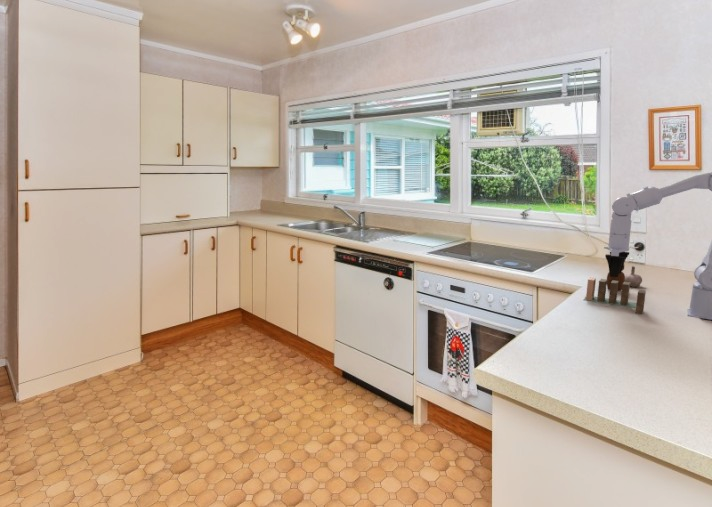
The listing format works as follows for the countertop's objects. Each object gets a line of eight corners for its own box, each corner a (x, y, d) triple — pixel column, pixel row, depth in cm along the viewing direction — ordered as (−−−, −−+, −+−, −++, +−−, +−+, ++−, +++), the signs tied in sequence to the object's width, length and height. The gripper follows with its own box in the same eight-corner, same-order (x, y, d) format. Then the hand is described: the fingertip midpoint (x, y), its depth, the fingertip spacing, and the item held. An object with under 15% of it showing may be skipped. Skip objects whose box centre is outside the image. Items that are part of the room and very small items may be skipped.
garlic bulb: (642, 289, 166) (644, 268, 165) (619, 286, 170) (622, 266, 168) (640, 285, 172) (643, 265, 171) (619, 282, 176) (621, 263, 175)
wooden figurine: (606, 287, 168) (610, 249, 165) (624, 289, 164) (628, 250, 162) (604, 291, 162) (608, 251, 160) (622, 293, 159) (627, 253, 156)
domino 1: (604, 299, 150) (607, 279, 148) (602, 302, 146) (605, 281, 145) (599, 298, 151) (601, 278, 150) (596, 301, 147) (599, 281, 146)
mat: (642, 304, 145) (642, 303, 145) (640, 310, 138) (640, 309, 138) (587, 296, 155) (587, 295, 154) (582, 301, 148) (582, 300, 148)
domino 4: (643, 312, 136) (645, 290, 135) (641, 315, 133) (644, 293, 132) (636, 310, 138) (639, 289, 136) (635, 314, 134) (637, 292, 133)
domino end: (593, 297, 152) (595, 278, 150) (591, 300, 148) (593, 280, 147) (588, 296, 153) (590, 277, 152) (585, 299, 149) (587, 279, 148)
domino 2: (616, 300, 148) (618, 281, 146) (614, 303, 144) (616, 283, 143) (610, 300, 149) (612, 280, 147) (608, 302, 145) (610, 282, 144)
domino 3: (627, 302, 146) (630, 282, 144) (626, 305, 142) (628, 284, 141) (621, 301, 147) (624, 281, 145) (620, 304, 143) (622, 284, 142)
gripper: (609, 231, 149) (605, 269, 151) (602, 235, 138) (598, 276, 140) (633, 232, 145) (628, 272, 147) (628, 237, 133) (623, 279, 136)
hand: (615, 274), depth 143 cm, fingers open, 7 cm apart
